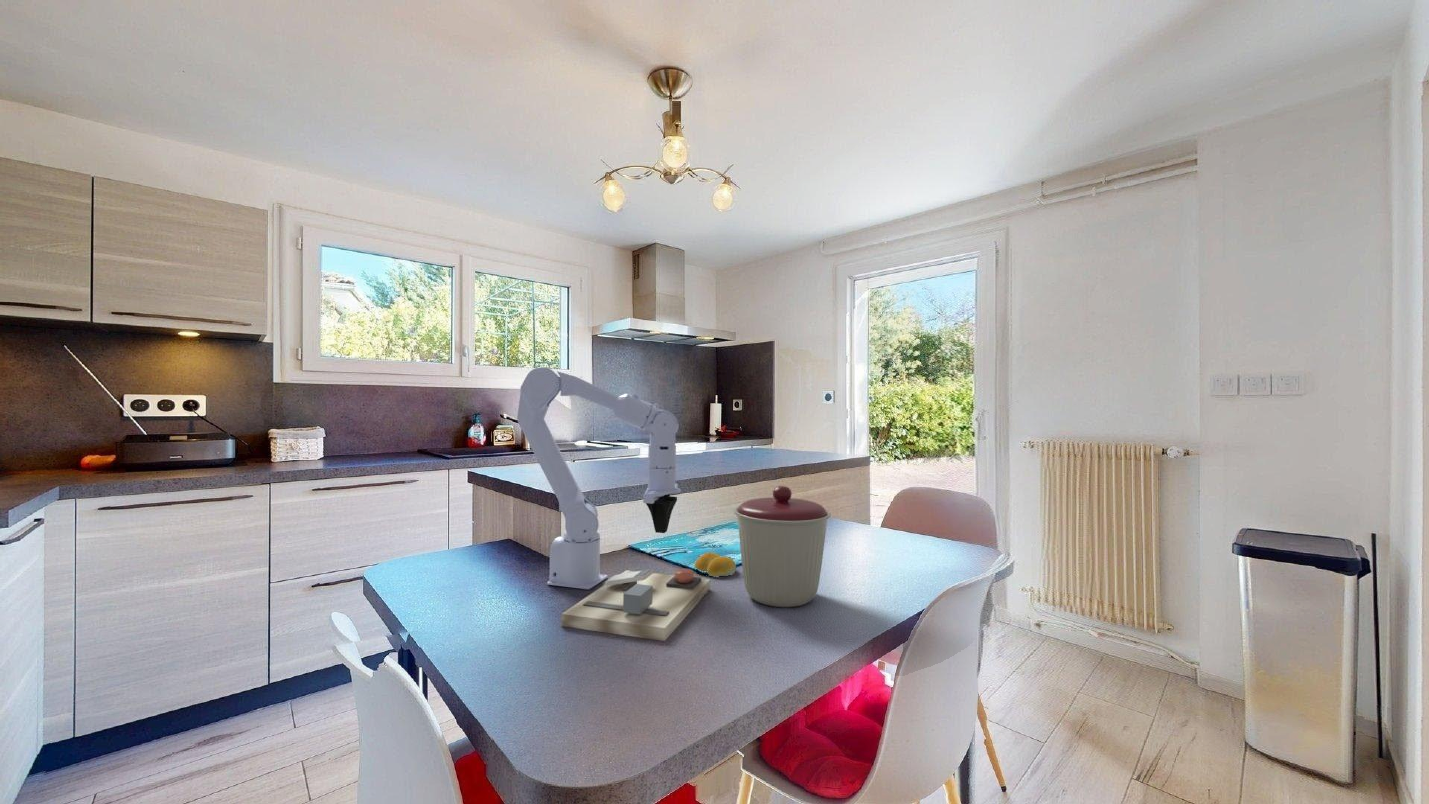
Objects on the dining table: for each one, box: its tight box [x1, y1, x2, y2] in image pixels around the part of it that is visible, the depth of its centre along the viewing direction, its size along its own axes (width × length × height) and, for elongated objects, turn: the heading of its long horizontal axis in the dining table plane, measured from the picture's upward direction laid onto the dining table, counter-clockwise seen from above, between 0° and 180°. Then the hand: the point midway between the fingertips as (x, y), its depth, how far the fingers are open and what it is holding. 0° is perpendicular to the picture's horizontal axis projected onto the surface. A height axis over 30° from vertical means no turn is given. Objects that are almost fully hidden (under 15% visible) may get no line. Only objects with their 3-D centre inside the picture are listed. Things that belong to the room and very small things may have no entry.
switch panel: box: [560, 569, 711, 642], centre depth 96 cm, size 18×24×3 cm
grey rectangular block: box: [623, 584, 653, 614], centre depth 89 cm, size 3×5×3 cm, turn 164°
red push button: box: [674, 568, 694, 583], centre depth 103 cm, size 4×4×2 cm
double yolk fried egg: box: [694, 551, 737, 578], centre depth 117 cm, size 8×9×4 cm
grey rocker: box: [604, 568, 654, 586], centre depth 100 cm, size 8×4×1 cm, turn 74°
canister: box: [733, 485, 832, 608], centre depth 102 cm, size 18×18×21 cm
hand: (661, 532), depth 113 cm, fingers closed
